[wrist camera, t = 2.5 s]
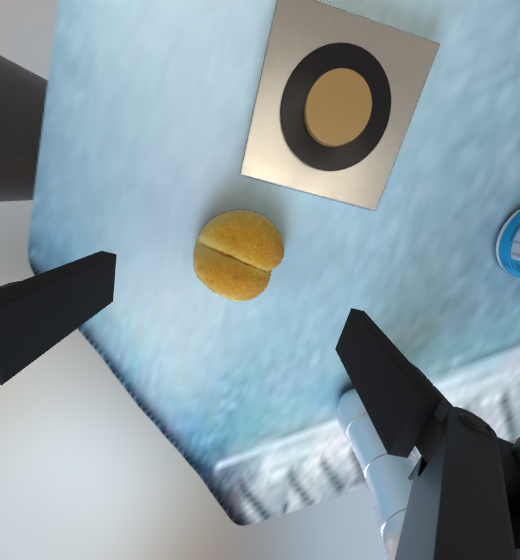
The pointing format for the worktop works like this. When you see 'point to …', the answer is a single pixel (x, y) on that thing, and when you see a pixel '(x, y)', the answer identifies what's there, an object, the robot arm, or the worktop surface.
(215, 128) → the worktop surface
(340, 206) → the worktop surface
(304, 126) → the push button
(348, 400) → the plastic bottle
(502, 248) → the beverage bottle
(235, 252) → the bread roll
